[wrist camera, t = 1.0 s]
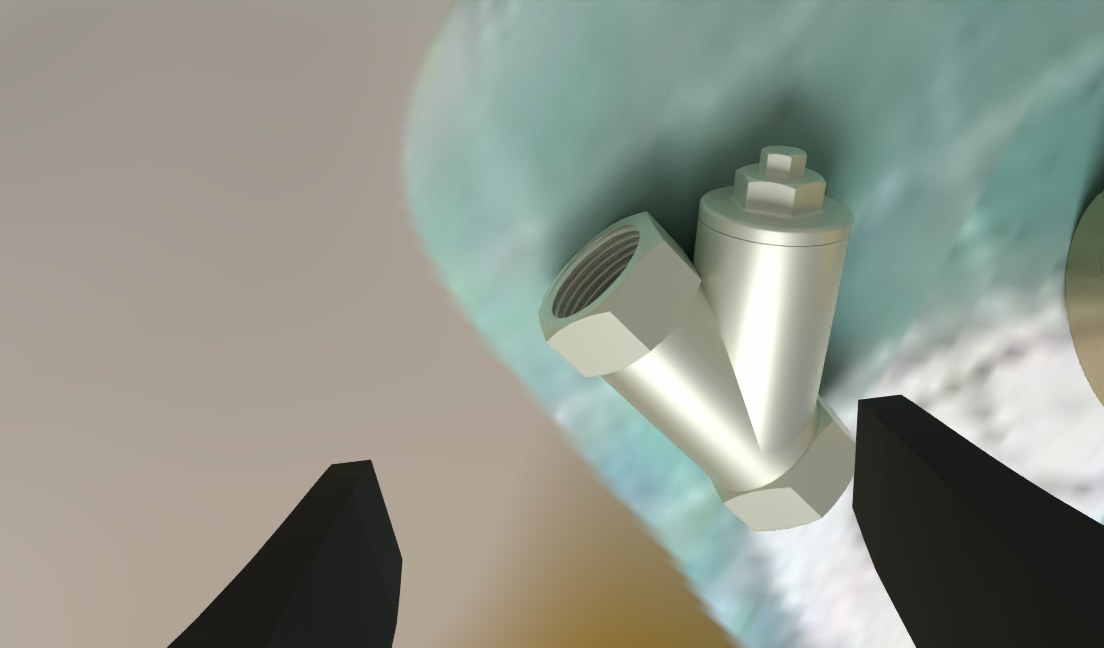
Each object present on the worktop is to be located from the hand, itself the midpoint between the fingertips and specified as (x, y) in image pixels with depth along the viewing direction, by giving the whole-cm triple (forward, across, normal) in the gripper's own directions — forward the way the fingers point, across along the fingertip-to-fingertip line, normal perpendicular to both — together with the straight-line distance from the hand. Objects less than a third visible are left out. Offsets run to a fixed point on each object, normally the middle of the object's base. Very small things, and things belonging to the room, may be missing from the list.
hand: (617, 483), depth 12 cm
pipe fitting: (+9, -4, +2) cm, 10 cm away
